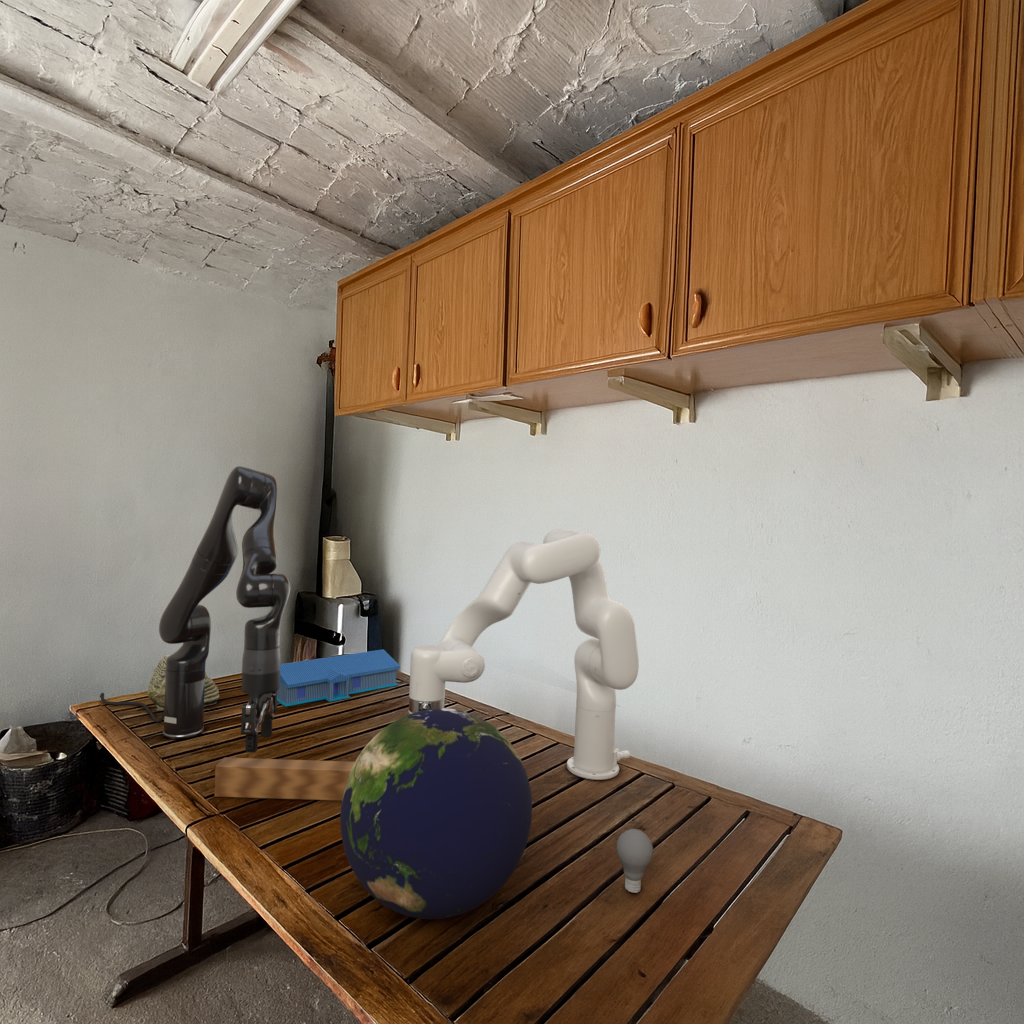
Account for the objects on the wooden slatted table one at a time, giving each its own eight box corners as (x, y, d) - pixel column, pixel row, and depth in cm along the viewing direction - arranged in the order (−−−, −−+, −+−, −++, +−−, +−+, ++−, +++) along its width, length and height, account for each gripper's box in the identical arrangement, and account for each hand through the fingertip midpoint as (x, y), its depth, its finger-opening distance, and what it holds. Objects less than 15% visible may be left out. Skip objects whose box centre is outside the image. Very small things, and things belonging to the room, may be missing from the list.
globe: (293, 930, 92) (301, 726, 92) (403, 834, 120) (409, 676, 120) (479, 999, 81) (489, 767, 81) (552, 875, 109) (560, 702, 108)
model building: (289, 709, 186) (291, 675, 185) (258, 688, 204) (259, 657, 204) (403, 687, 212) (405, 657, 212) (366, 670, 230) (368, 643, 230)
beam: (214, 796, 132) (215, 766, 132) (223, 786, 136) (224, 757, 136) (458, 804, 133) (460, 774, 133) (460, 794, 138) (461, 765, 137)
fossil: (144, 707, 182) (145, 655, 182) (212, 696, 194) (213, 647, 194) (151, 716, 175) (153, 662, 175) (221, 703, 188) (223, 653, 188)
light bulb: (610, 879, 108) (613, 822, 108) (644, 879, 109) (647, 822, 109) (619, 902, 102) (622, 840, 102) (655, 901, 103) (658, 840, 103)
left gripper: (267, 677, 127) (264, 758, 127) (290, 660, 141) (287, 732, 141) (229, 676, 127) (227, 757, 127) (256, 659, 141) (254, 731, 141)
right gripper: (440, 719, 126) (437, 810, 127) (447, 693, 143) (444, 773, 144) (403, 718, 126) (399, 808, 127) (414, 692, 143) (410, 772, 143)
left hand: (259, 744), depth 134 cm, fingers open, 8 cm apart
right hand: (423, 789), depth 135 cm, fingers closed on beam, 4 cm apart
